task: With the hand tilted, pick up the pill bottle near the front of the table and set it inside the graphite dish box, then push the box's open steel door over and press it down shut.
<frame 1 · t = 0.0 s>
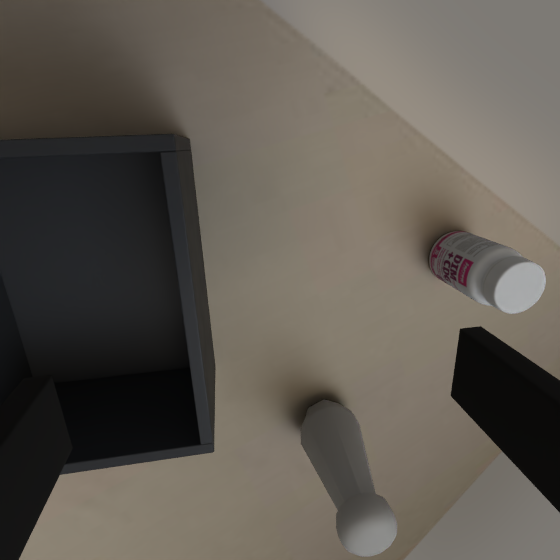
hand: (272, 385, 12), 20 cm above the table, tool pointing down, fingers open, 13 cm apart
salt shaker: (323, 415, 38), on the table
pill bottle: (450, 255, 34), on the table
dish box: (105, 273, 30), on the table
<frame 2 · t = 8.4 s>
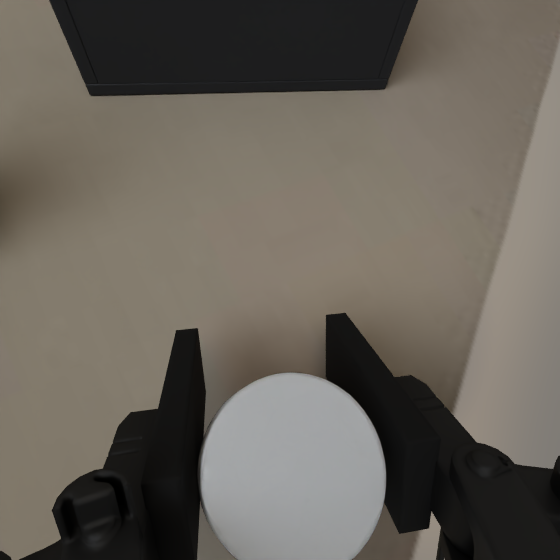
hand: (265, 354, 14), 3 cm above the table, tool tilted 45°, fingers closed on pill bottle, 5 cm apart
pill bottle: (272, 463, 16), on the table, touching gripper
dish box: (235, 21, 28), on the table
when the fingers open (5 cm above the table, at t = 20.1 s): pill bottle stays where it is, resting on dish box.
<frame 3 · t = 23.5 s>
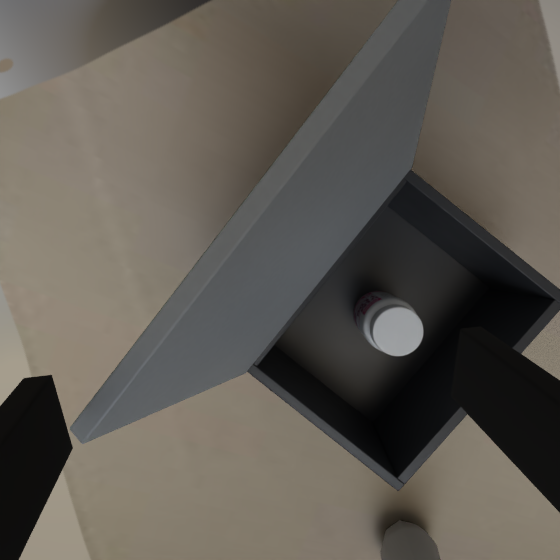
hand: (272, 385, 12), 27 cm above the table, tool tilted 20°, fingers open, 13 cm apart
salt shaker: (402, 536, 40), on the table
pill bottle: (375, 313, 38), point 1 cm above the table, touching dish box
dish box: (374, 312, 39), on the table
door: (300, 252, 20), point 19 cm above the table, hinge at 105.2°
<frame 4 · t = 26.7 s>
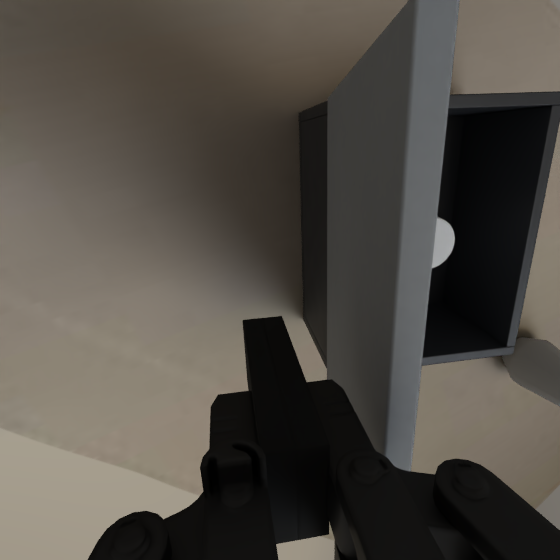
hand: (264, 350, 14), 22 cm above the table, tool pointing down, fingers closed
salt shaker: (516, 351, 44), on the table
pill bottle: (383, 221, 36), point 1 cm above the table, touching dish box
dish box: (380, 220, 36), on the table
door: (351, 308, 17), point 19 cm above the table, hinge at 100.0°
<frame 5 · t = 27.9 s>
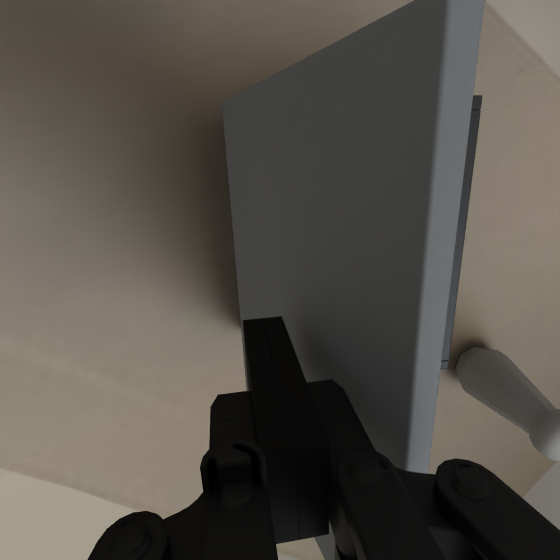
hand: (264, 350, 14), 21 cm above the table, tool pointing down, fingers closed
salt shaker: (471, 361, 43), on the table
dish box: (318, 228, 35), on the table
door: (292, 322, 17), point 19 cm above the table, hinge at 77.6°, touching gripper
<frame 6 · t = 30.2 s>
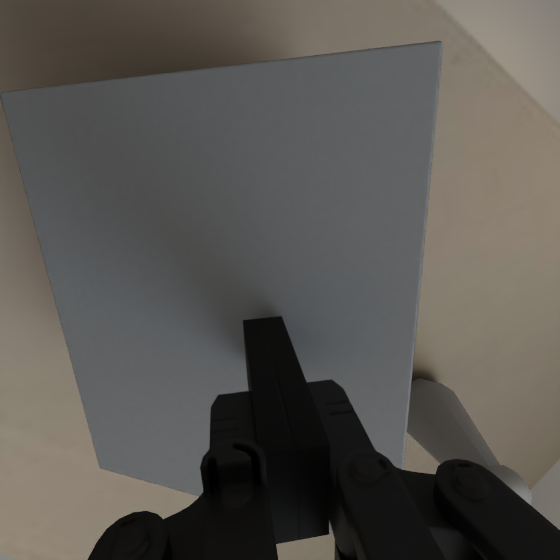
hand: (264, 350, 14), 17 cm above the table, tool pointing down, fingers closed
salt shaker: (415, 394, 38), on the table
door: (211, 330, 16), point 14 cm above the table, hinge at 27.0°, touching gripper
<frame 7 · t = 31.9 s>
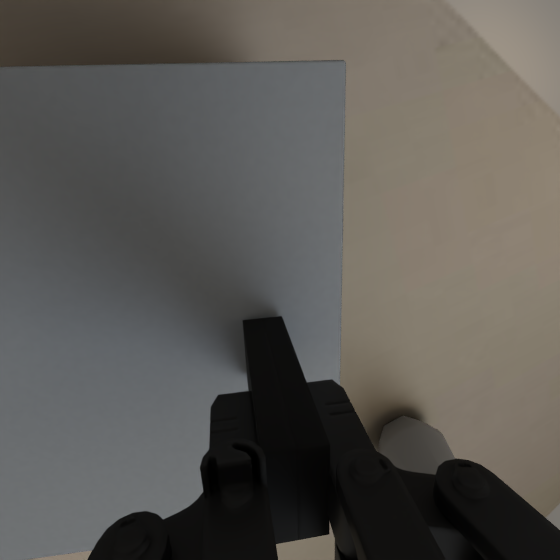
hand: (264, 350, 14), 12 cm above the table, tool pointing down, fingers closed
salt shaker: (399, 433, 33), on the table
door: (132, 353, 14), point 11 cm above the table, hinge at 2.1°, touching gripper
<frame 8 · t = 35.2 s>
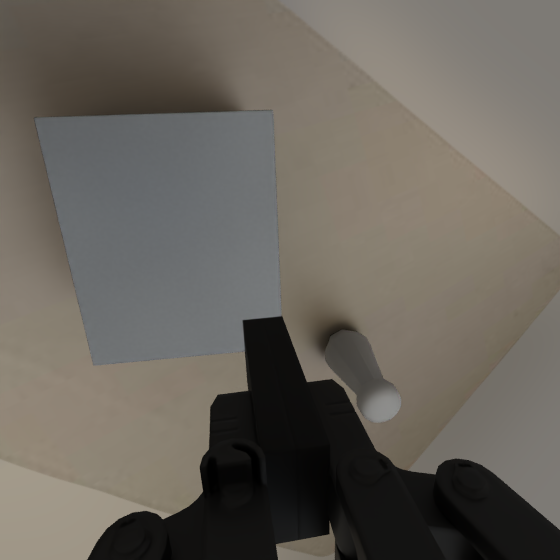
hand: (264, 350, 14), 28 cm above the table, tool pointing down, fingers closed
salt shaker: (341, 342, 48), on the table
door: (176, 247, 30), point 11 cm above the table, hinge at 2.1°
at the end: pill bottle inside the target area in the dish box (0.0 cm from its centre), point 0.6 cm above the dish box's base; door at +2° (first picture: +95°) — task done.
